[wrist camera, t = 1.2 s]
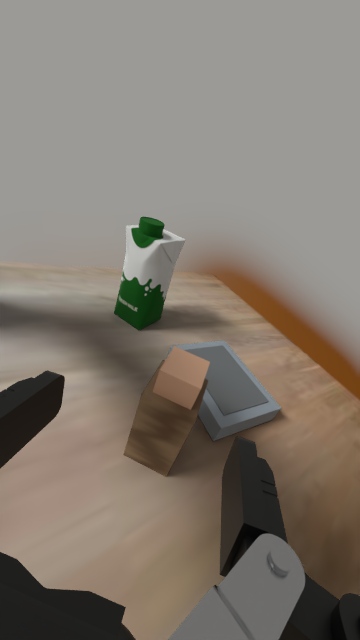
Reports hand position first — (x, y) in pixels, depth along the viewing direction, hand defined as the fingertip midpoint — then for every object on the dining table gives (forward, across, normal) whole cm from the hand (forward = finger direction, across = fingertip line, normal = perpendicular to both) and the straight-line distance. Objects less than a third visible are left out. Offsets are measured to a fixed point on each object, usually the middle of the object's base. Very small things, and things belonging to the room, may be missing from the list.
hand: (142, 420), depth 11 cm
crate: (+16, 0, +16) cm, 23 cm away
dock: (+30, -6, +14) cm, 33 cm away
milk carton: (+40, +13, +9) cm, 43 cm away
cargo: (+13, 0, +6) cm, 15 cm away
